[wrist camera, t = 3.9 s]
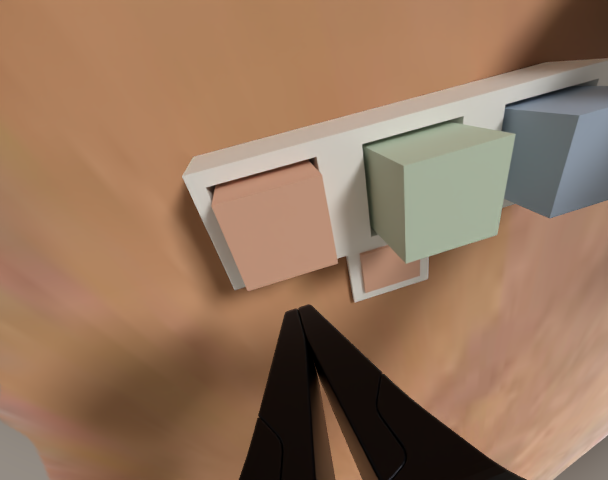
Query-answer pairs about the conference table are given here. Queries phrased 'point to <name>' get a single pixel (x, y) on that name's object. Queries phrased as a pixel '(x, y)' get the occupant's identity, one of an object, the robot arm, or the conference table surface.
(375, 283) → the card
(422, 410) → the robot arm
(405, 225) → the sage green key
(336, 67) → the conference table surface
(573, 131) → the slate blue key
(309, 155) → the key console
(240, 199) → the terracotta key
